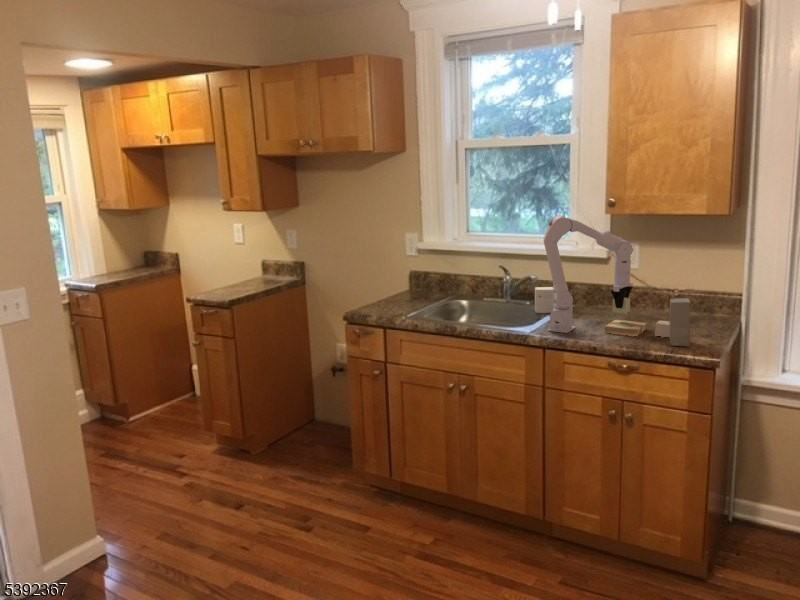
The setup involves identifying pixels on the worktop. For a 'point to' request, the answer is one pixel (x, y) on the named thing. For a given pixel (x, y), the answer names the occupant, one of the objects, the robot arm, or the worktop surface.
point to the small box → (544, 299)
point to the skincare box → (679, 322)
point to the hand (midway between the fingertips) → (621, 306)
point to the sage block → (624, 309)
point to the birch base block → (625, 327)
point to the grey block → (662, 329)
